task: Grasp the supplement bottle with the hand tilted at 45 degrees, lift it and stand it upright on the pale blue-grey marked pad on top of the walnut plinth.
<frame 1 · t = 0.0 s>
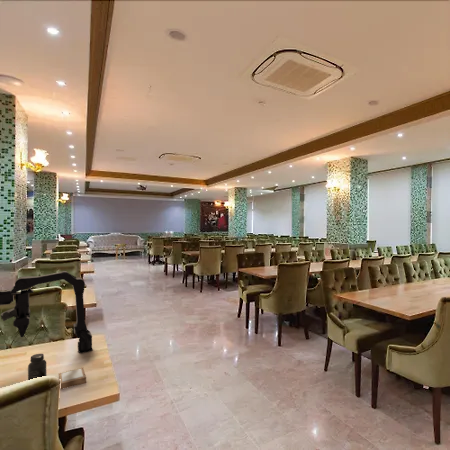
hand: (22, 333, 145), 15 cm above the table, tool pointing down, fingers open, 9 cm apart
walnut plinth: (72, 380, 130), on the table
supplement bottle: (37, 383, 128), on the table
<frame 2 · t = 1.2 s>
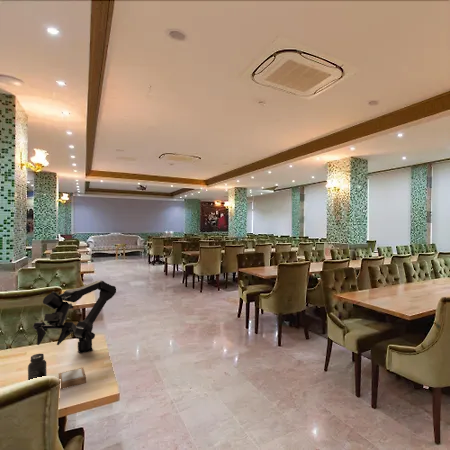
hand: (47, 344, 136), 13 cm above the table, tool tilted 45°, fingers open, 9 cm apart
nothing on the table moved.
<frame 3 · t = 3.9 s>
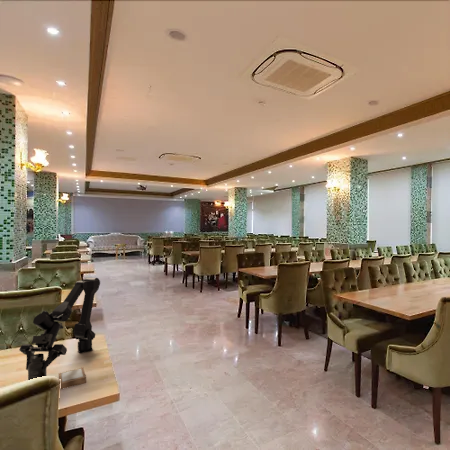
hand: (35, 369, 126), 7 cm above the table, tool tilted 45°, fingers closed on supplement bottle, 7 cm apart
supplement bottle: (37, 383, 128), on the table, touching gripper
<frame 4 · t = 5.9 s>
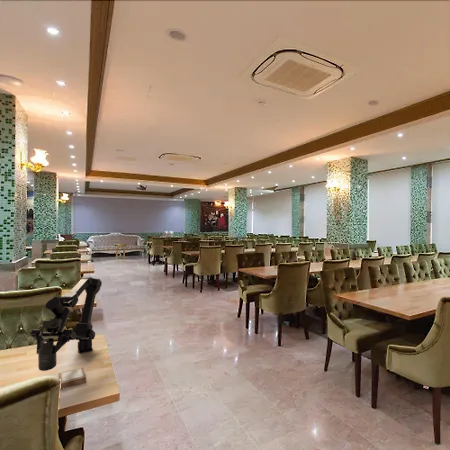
hand: (45, 353, 127), 13 cm above the table, tool tilted 45°, fingers closed on supplement bottle, 7 cm apart
supplement bottle: (47, 367, 128), point 6 cm above the table, touching gripper
when the fingers open (10 cm above the table, at t = 7.8 s): supplement bottle stays where it is, resting on walnut plinth.
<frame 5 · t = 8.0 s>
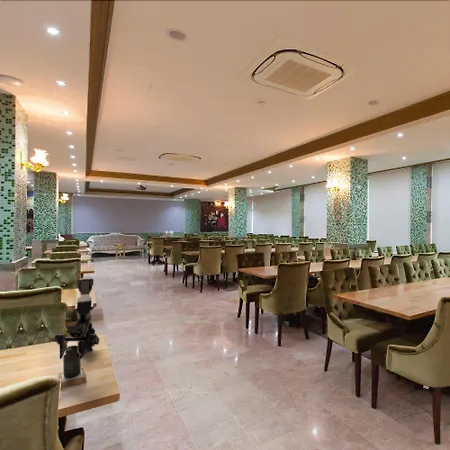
hand: (70, 358, 128), 11 cm above the table, tool tilted 45°, fingers open, 8 cm apart
supplement bottle: (72, 374, 130), point 3 cm above the table, touching walnut plinth
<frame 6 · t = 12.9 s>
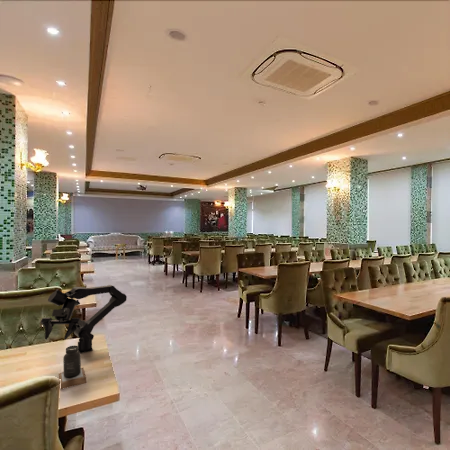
hand: (55, 339, 141), 14 cm above the table, tool tilted 45°, fingers open, 9 cm apart
nothing on the table moved.
at the end: supplement bottle 0.1 cm off-centre on the walnut plinth, point 2.5 cm above the walnut plinth's base; supplement bottle tilted 0°; the gripper is holding nothing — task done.
